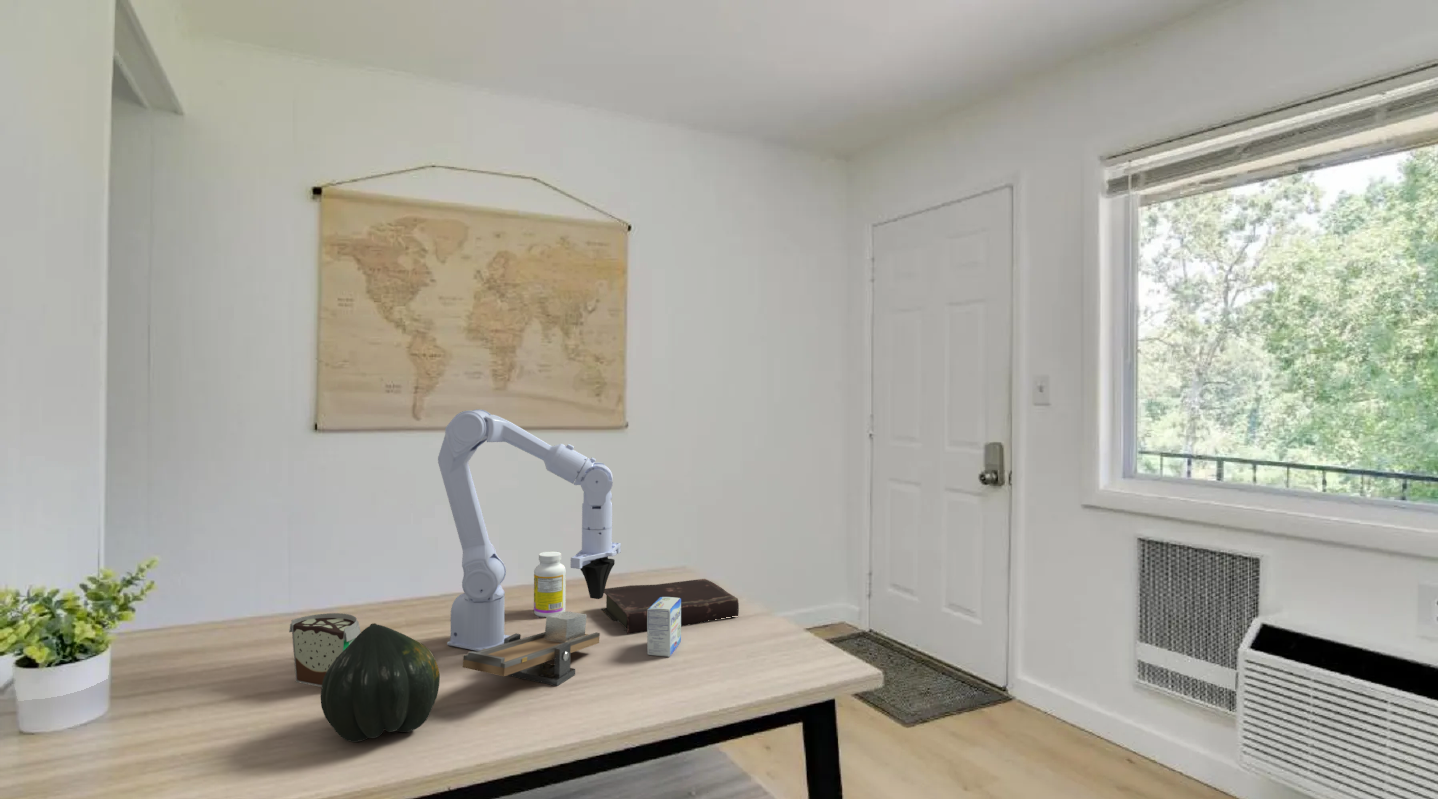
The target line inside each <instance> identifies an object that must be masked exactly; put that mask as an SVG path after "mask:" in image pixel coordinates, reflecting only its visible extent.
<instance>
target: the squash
mask: <svg viewBox="0 0 1438 799" xmlns="http://www.w3.org/2000/svg"><path fill="white" fill-rule="evenodd" d="M439 668H440V667H439V666H438V663H437V660H436V658H435V656H434V654H433V653H432V651H431V650H430V649H429V648H428V647H426V645H424V644H422V643H421V642H420V641H418V640H416V639H414V638H412V637H410V636H408V635H406V634H403V633H402V632H399V631H398V630H394V629H392V628H390V627H388V626H385V625H381V624H377V623H375V622H372V623H371V624H370V625H369V626H367V627H365V628H364V629H363V630H362V631H361V632H360V634H359V635H358V636H357V637H356V638H355V639H354V640H353V641H352V642H351V644H350V645H349V646H348V647H347V648H346V649H345V650H344V651H343V652H342V653H341V654H340V655H339V656H338V657H337V658H336V659H335V661H334V662H333V663H332V665H331V666H330V667H329V669H328V670H327V672H326V674H325V676H324V679H323V683H322V687H321V690H320V696H319V698H320V705H321V706H320V707H321V710H322V712H323V715H324V718H325V719H326V721H327V723H328V724H329V725H330V726H331V727H332V728H333V730H334V732H335V733H336V734H337V735H338V737H340V738H342V739H343V740H345V741H348V742H353V743H354V742H362V741H365V740H368V739H369V738H371V739H375V738H378V737H380V736H381V735H382V734H383V733H384V732H385V731H386V732H388V733H390V732H396V731H398V732H401V733H408V732H412V731H415V730H417V729H419V728H420V727H422V725H423V724H424V723H426V721H427V719H428V718H429V716H430V714H431V712H432V709H433V706H434V705H435V703H436V700H437V697H438V695H439V694H438V693H439V688H440V678H441V677H440V669H439Z"/></svg>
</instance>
